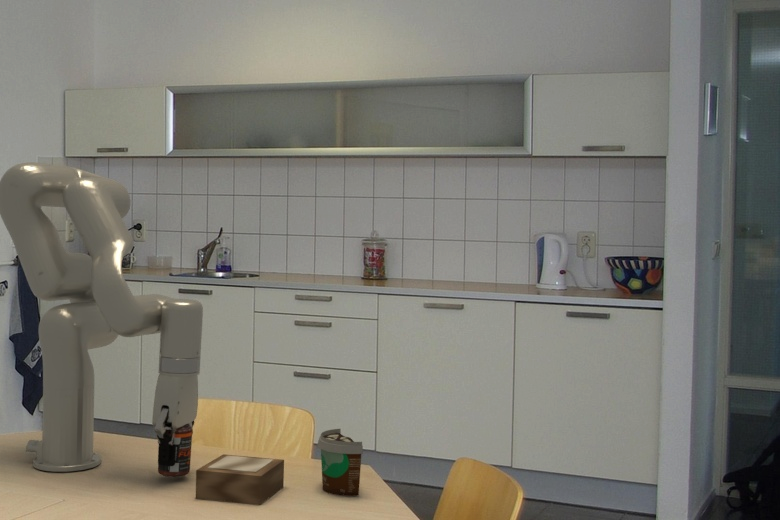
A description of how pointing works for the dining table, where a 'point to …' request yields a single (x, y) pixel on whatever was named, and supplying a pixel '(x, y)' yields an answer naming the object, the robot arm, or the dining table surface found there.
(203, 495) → the walnut base
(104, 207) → the robot arm
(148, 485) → the dining table surface
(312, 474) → the dining table surface
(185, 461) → the supplement bottle
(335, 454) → the food container
